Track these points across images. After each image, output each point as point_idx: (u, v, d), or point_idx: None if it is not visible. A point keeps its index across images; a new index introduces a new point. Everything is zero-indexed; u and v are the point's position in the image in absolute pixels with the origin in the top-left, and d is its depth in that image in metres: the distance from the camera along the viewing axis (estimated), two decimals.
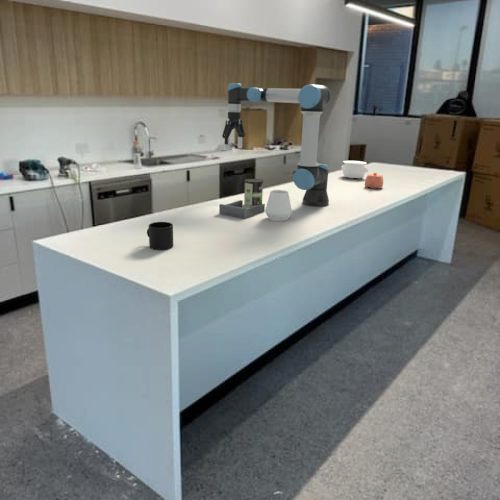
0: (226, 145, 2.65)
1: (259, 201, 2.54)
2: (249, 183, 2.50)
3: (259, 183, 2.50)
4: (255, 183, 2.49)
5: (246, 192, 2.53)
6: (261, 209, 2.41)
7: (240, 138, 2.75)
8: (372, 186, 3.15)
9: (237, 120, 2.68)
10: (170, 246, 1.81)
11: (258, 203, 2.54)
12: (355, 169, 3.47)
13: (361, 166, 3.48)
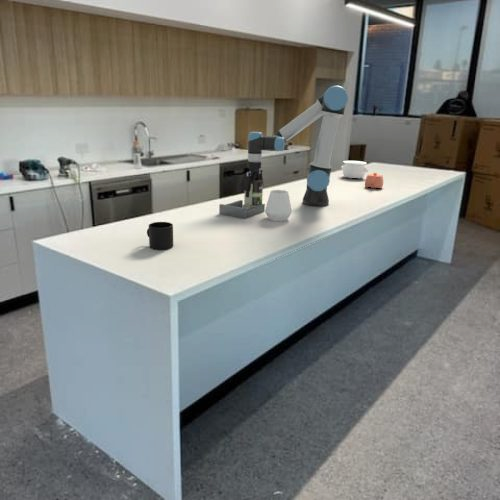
0: (247, 198, 2.52)
1: (259, 201, 2.54)
2: (249, 183, 2.50)
3: (259, 183, 2.50)
4: (255, 183, 2.49)
5: None
6: (261, 209, 2.41)
7: None
8: (372, 186, 3.15)
9: (257, 169, 2.53)
10: (170, 246, 1.81)
11: (258, 203, 2.54)
12: (355, 169, 3.47)
13: (361, 166, 3.48)
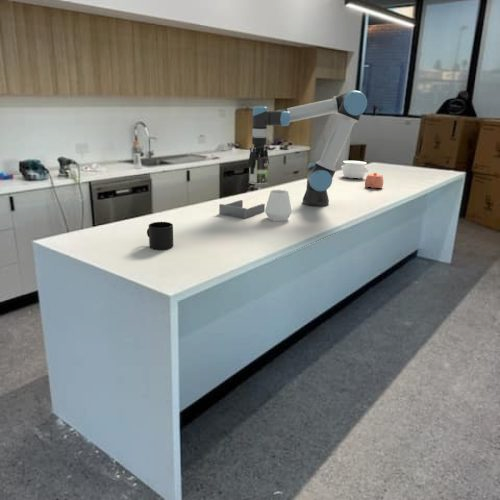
0: (252, 175, 2.45)
1: (264, 178, 2.47)
2: (254, 159, 2.43)
3: (264, 159, 2.43)
4: (260, 159, 2.43)
5: None
6: (261, 209, 2.41)
7: None
8: (372, 186, 3.15)
9: (262, 145, 2.46)
10: (170, 246, 1.81)
11: (263, 180, 2.47)
12: (355, 169, 3.47)
13: (361, 166, 3.48)
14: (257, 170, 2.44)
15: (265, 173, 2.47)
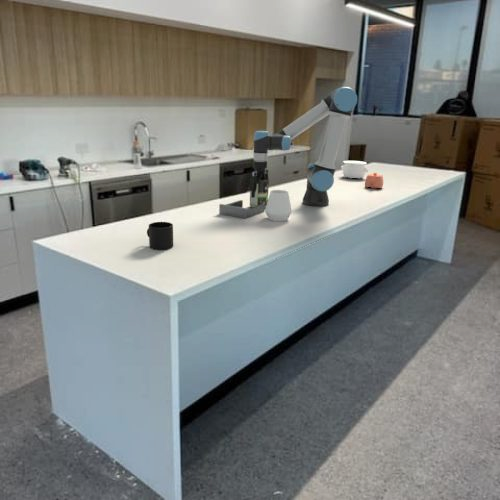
0: (253, 198, 2.48)
1: (265, 201, 2.49)
2: None
3: (265, 183, 2.46)
4: (261, 183, 2.45)
5: None
6: (261, 209, 2.41)
7: None
8: (372, 186, 3.15)
9: (263, 169, 2.48)
10: (170, 246, 1.81)
11: (264, 203, 2.49)
12: (355, 169, 3.47)
13: (361, 166, 3.48)
14: (258, 193, 2.47)
15: (266, 196, 2.49)
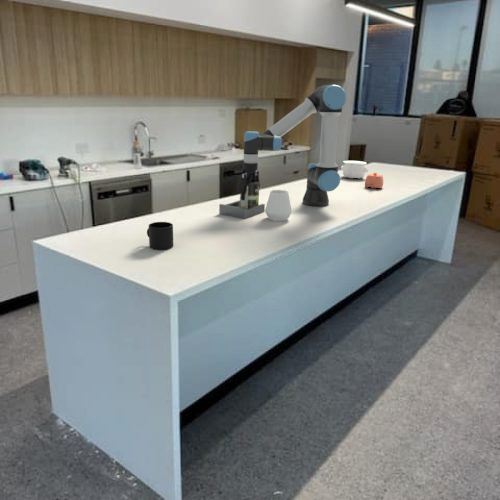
0: (243, 201, 2.40)
1: (255, 204, 2.41)
2: (245, 185, 2.38)
3: (255, 185, 2.38)
4: (251, 185, 2.37)
5: None
6: (261, 209, 2.41)
7: None
8: (372, 186, 3.15)
9: (254, 171, 2.41)
10: (170, 246, 1.81)
11: None
12: (355, 169, 3.47)
13: (361, 166, 3.48)
14: (248, 196, 2.39)
15: (256, 199, 2.41)
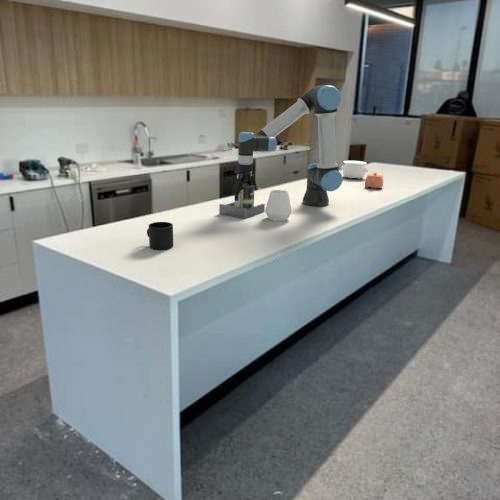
0: (236, 201, 2.34)
1: None
2: None
3: (250, 189, 2.34)
4: (246, 189, 2.33)
5: None
6: (261, 209, 2.41)
7: None
8: (372, 186, 3.15)
9: (248, 172, 2.36)
10: (170, 246, 1.81)
11: None
12: (355, 169, 3.47)
13: (361, 166, 3.48)
14: (243, 200, 2.35)
15: (251, 203, 2.37)
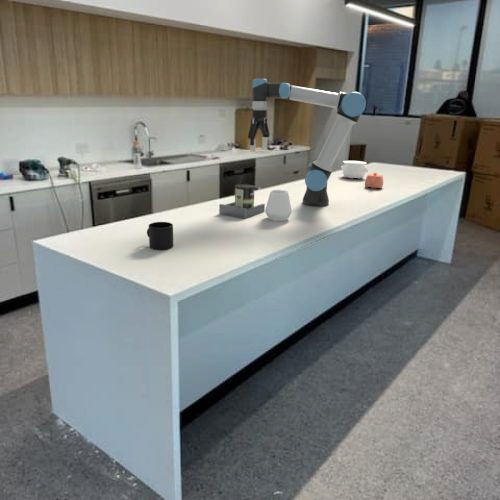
0: (252, 146, 2.44)
1: None
2: (239, 189, 2.34)
3: (250, 189, 2.34)
4: (246, 189, 2.33)
5: (236, 198, 2.37)
6: (261, 209, 2.41)
7: (265, 138, 2.54)
8: (372, 186, 3.15)
9: (262, 119, 2.46)
10: (170, 246, 1.81)
11: None
12: (355, 169, 3.47)
13: (361, 166, 3.48)
14: (243, 200, 2.35)
15: (251, 203, 2.37)
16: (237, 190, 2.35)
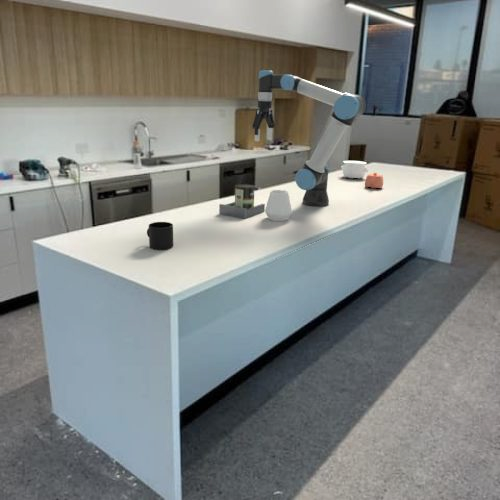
0: (256, 136, 2.51)
1: None
2: (239, 189, 2.34)
3: (250, 189, 2.34)
4: (246, 189, 2.33)
5: (236, 198, 2.37)
6: (261, 209, 2.41)
7: (270, 129, 2.61)
8: (372, 186, 3.15)
9: (267, 110, 2.54)
10: (170, 246, 1.81)
11: None
12: (355, 169, 3.47)
13: (361, 166, 3.48)
14: (243, 200, 2.35)
15: (251, 203, 2.37)
16: (237, 190, 2.35)
